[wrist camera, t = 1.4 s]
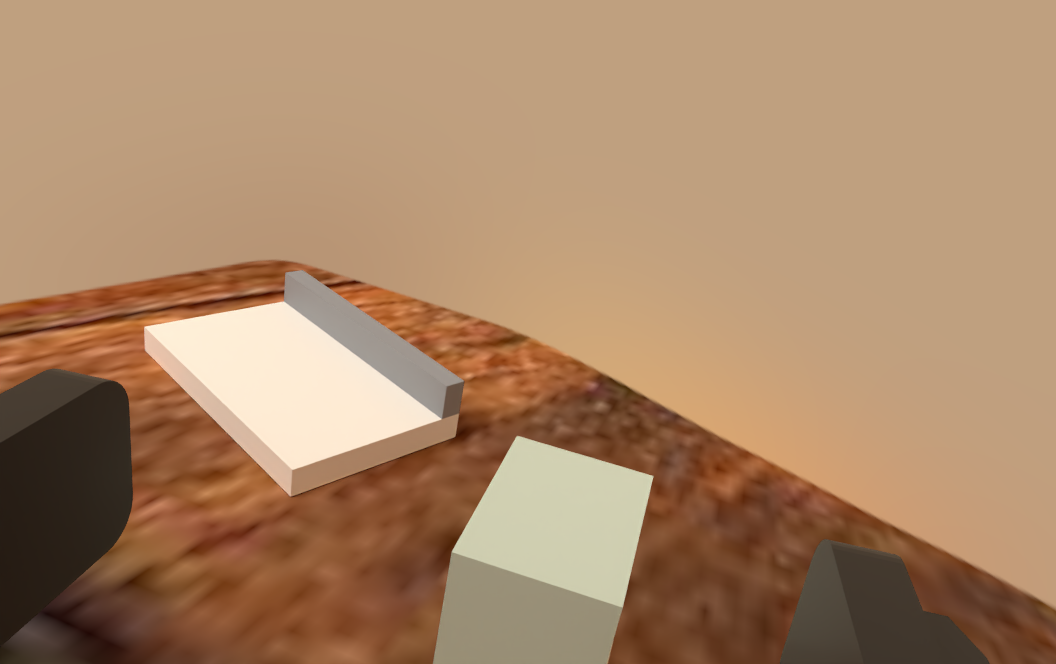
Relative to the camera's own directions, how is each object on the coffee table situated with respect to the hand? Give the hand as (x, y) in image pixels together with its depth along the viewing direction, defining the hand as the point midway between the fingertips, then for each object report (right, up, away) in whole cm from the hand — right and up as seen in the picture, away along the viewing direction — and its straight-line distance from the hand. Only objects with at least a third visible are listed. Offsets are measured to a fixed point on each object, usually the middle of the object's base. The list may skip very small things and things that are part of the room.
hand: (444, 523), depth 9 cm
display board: (-12, -1, +37) cm, 39 cm away
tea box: (0, -13, +17) cm, 21 cm away
